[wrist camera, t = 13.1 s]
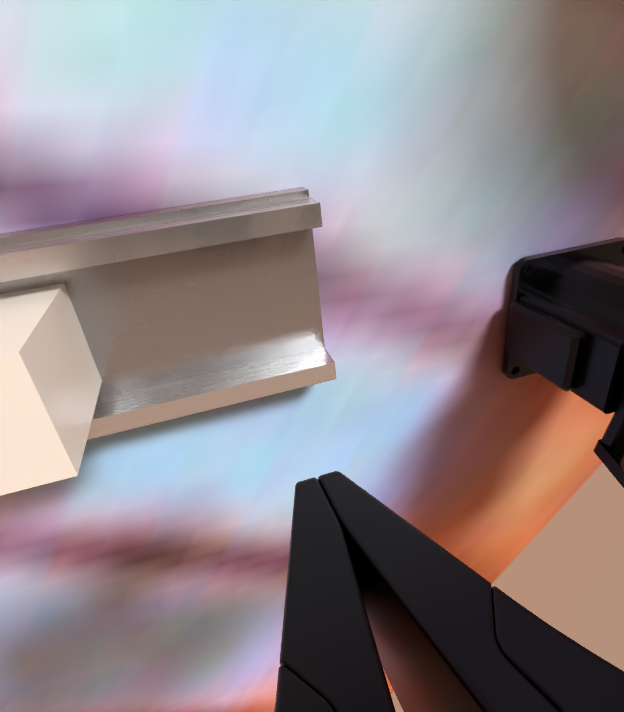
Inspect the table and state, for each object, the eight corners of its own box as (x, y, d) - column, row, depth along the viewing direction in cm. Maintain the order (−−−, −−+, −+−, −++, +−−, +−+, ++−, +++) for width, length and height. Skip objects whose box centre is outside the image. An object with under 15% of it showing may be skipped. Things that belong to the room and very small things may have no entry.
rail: (302, 187, 17) (375, 221, 11) (321, 360, 21) (383, 456, 15) (-353, 288, 13) (-786, 426, 7) (-187, 479, 17) (-382, 675, 11)
